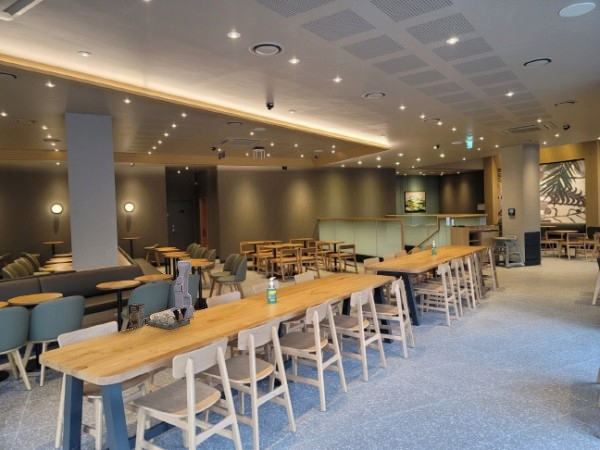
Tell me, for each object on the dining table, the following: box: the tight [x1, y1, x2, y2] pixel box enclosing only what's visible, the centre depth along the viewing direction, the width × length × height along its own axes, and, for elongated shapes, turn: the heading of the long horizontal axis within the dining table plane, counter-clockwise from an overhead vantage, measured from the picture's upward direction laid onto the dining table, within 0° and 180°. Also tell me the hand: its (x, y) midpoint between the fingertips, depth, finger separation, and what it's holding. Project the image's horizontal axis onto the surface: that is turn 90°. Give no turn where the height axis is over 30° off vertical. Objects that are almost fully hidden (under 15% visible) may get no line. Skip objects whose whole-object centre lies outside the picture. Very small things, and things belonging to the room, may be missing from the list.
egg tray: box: [146, 311, 191, 330], centre depth 304 cm, size 18×26×7 cm
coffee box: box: [128, 302, 146, 329], centre depth 300 cm, size 9×6×16 cm
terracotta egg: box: [177, 312, 183, 322], centre depth 303 cm, size 4×4×6 cm
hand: (179, 319), depth 303 cm, fingers closed on terracotta egg, 4 cm apart
